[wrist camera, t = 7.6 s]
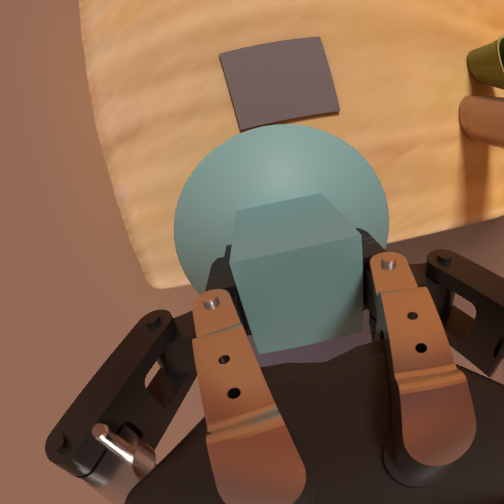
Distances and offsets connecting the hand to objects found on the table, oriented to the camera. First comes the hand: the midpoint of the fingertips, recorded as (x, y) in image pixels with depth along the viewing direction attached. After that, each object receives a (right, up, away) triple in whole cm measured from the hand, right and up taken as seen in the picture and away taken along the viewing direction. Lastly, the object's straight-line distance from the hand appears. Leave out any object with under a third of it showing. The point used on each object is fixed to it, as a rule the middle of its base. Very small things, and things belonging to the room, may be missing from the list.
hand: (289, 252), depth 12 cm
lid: (0, +1, +2) cm, 2 cm away
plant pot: (+43, +36, +15) cm, 58 cm away
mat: (+2, +25, +21) cm, 32 cm away
